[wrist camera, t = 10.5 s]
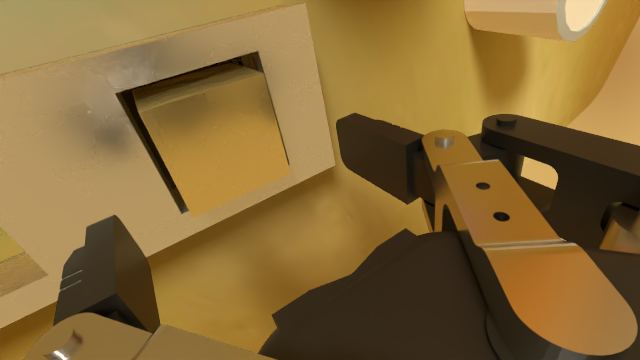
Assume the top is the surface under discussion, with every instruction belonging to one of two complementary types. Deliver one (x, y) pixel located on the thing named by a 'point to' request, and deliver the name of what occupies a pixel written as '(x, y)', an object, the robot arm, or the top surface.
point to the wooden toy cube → (214, 133)
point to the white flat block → (134, 143)
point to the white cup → (535, 17)
